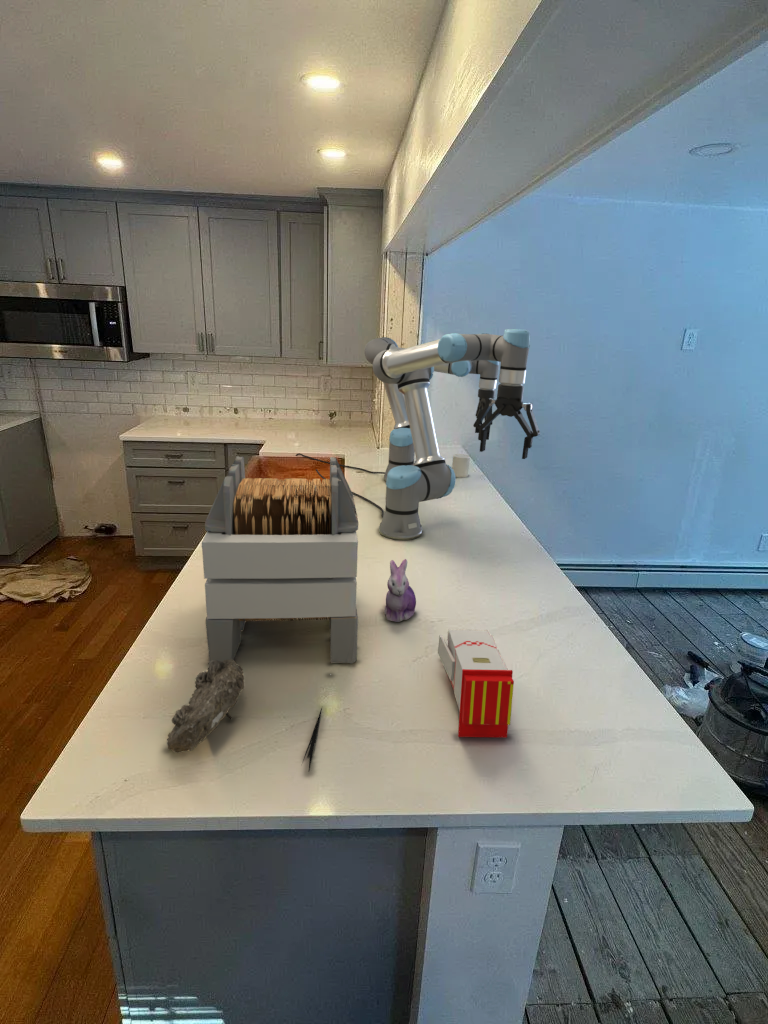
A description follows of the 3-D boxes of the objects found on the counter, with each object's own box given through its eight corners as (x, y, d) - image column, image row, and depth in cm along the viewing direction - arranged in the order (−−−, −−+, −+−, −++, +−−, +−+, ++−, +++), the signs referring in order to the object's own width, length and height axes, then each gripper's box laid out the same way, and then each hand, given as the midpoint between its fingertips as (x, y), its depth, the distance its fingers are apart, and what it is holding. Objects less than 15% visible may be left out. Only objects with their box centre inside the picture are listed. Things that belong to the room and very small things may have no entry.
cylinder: (471, 476, 274) (473, 457, 270) (458, 478, 270) (460, 458, 266) (461, 472, 280) (463, 453, 277) (448, 473, 276) (449, 454, 273)
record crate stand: (229, 593, 154) (221, 446, 140) (349, 591, 157) (353, 448, 144) (206, 668, 122) (192, 488, 108) (357, 664, 126) (363, 489, 112)
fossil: (192, 660, 117) (244, 628, 112) (224, 691, 120) (276, 661, 115) (142, 746, 98) (202, 712, 93) (182, 779, 101) (242, 748, 96)
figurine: (392, 627, 141) (395, 572, 136) (374, 608, 149) (376, 556, 144) (425, 619, 145) (429, 566, 140) (405, 601, 154) (408, 550, 149)
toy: (488, 613, 130) (523, 677, 101) (484, 667, 133) (517, 744, 104) (435, 612, 130) (455, 676, 101) (432, 666, 133) (451, 743, 103)
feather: (331, 679, 122) (336, 673, 122) (307, 777, 96) (313, 769, 95) (324, 675, 122) (329, 669, 121) (298, 772, 95) (304, 764, 95)
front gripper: (557, 387, 164) (546, 458, 171) (476, 379, 176) (470, 445, 183) (549, 390, 158) (539, 463, 165) (467, 381, 170) (460, 450, 177)
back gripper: (503, 393, 239) (497, 442, 247) (488, 385, 263) (482, 430, 270) (486, 392, 239) (480, 442, 246) (472, 384, 262) (467, 430, 269)
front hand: (503, 454), depth 174 cm, fingers open, 13 cm apart
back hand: (481, 436), depth 258 cm, fingers open, 13 cm apart
